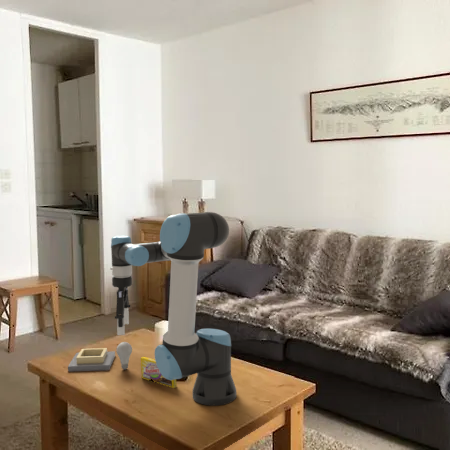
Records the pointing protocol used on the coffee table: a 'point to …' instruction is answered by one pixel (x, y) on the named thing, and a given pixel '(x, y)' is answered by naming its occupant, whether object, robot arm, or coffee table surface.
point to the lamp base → (92, 360)
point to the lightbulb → (124, 354)
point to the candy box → (154, 372)
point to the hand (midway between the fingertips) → (123, 329)
